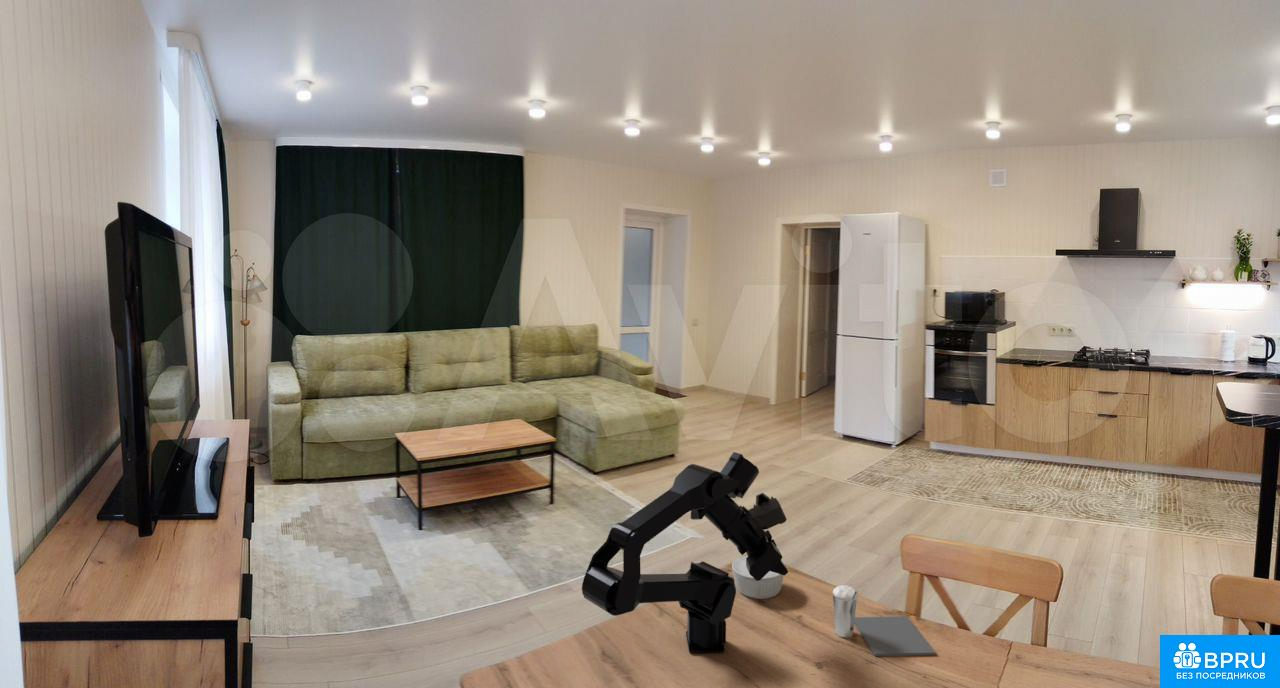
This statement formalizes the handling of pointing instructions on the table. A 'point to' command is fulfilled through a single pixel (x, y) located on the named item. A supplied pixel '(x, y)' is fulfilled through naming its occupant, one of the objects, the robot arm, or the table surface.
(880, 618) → the mat
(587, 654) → the table surface
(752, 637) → the table surface
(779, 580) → the ramekin
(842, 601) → the milkshake
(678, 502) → the robot arm
